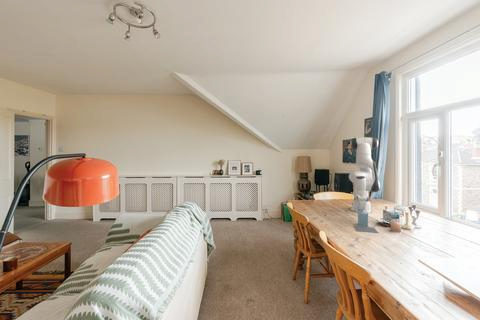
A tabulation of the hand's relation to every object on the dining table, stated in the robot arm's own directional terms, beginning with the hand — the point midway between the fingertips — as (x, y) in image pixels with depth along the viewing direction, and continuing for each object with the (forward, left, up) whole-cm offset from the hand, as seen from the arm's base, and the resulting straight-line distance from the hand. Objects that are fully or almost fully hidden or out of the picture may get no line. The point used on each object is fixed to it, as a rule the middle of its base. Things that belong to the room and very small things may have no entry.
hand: (360, 212), depth 178 cm
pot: (+16, +20, -7) cm, 27 cm away
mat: (+19, 0, -7) cm, 21 cm away
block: (+10, 0, -7) cm, 13 cm away
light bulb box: (0, +22, -8) cm, 23 cm away
